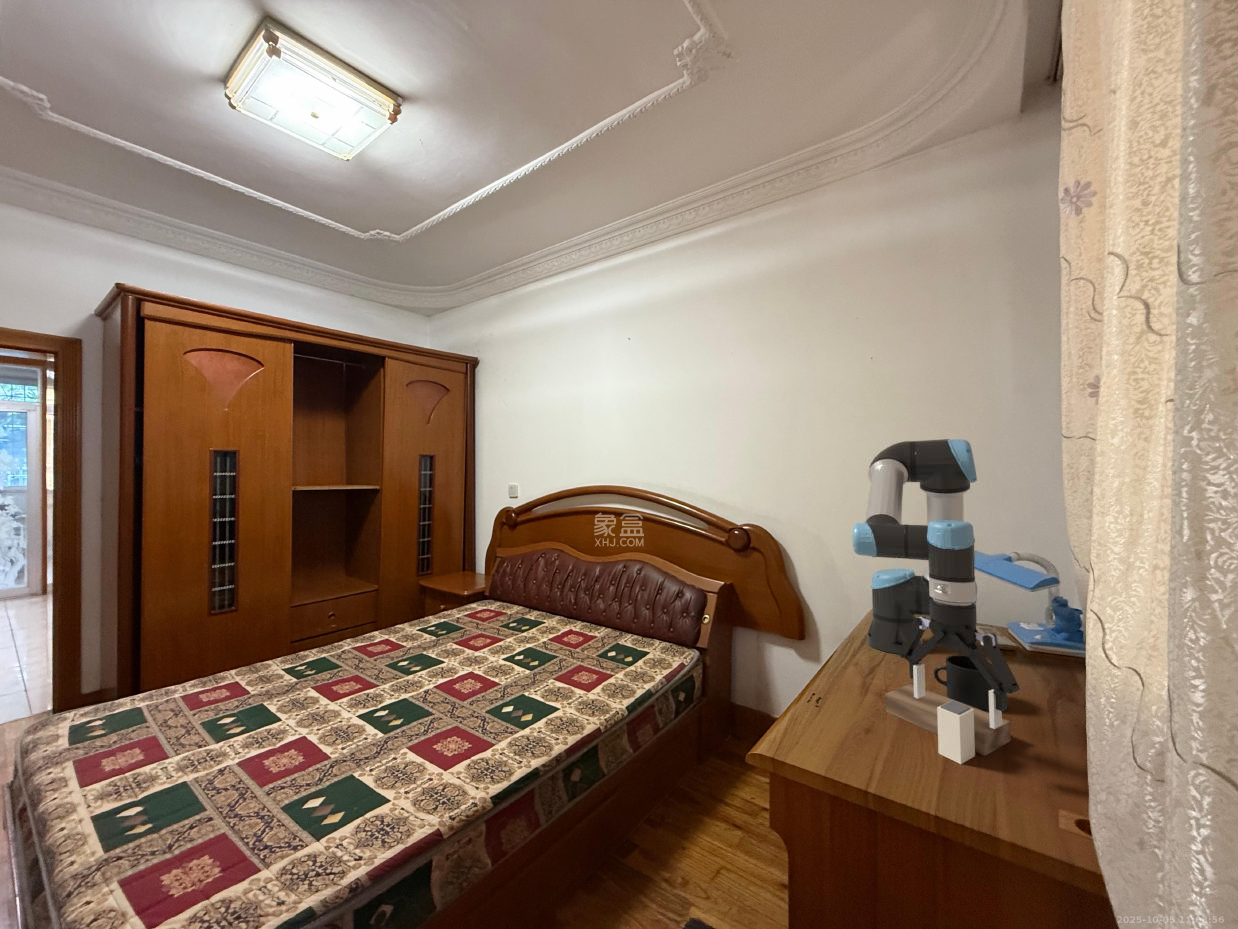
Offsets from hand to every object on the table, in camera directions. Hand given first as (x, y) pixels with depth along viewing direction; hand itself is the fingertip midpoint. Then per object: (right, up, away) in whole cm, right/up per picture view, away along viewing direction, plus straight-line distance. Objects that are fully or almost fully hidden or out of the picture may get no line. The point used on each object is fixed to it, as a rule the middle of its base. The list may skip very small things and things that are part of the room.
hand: (955, 710), depth 94 cm
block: (0, -9, 0) cm, 9 cm away
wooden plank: (+5, -9, +11) cm, 15 cm away
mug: (+17, -9, +22) cm, 29 cm away
